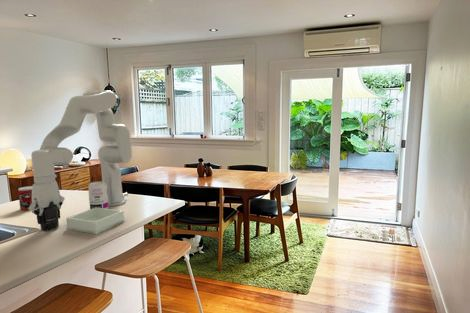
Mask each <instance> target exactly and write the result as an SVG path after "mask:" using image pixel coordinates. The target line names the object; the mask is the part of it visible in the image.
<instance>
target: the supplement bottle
mask: <svg viewBox="0 0 470 313" xmlns="http://www.w3.org/2000/svg"><path fill="white" fill-rule="evenodd" d="M39 211H40V210H39ZM42 215H44V224H43V225H42V224H39V225H40V227H39V228H40V230H41V231H45V232H46V231H52V230H56V229H58V228H59V226H60V222H59V221H60V220H59V219H58V209H57V207H56V206H55V205H54V203H53V201H51V202H49V205H48V207H46V208H44V210H43V213H42Z"/></svg>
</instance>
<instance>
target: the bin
mask: <svg viewBox="0 0 470 313" xmlns="http://www.w3.org/2000/svg"><path fill="white" fill-rule="evenodd" d="M65 221H66V228H67V229H66V230H68V231H75V232H80V233H87V234H92V235H98V234H100V233H101V234H102V232H105V231H107V230H109V229H111V228H113V227H116V226H118V225H120V224H122V223H124V222H125V215H124V210H121V209H120V210H119V209H112V208H111V209H110V208H108V209H105V208H96V207H95V208H93V209H90V208H89V209H87V210H85V211H81V212H79V213H77V214H74V215H71V216H68V217H66V220H65Z"/></svg>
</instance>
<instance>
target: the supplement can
mask: <svg viewBox="0 0 470 313" xmlns="http://www.w3.org/2000/svg"><path fill="white" fill-rule="evenodd" d="M87 188H88V200H89V202H88V203H89V210H90V209H93V208H95V207H96V208H105V209H109V206H108V196H107V185H106V183H105V182H102V180H101V181H93V182H92V181H91V182H90V183H89V185H88V187H87Z"/></svg>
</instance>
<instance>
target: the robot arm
mask: <svg viewBox="0 0 470 313" xmlns="http://www.w3.org/2000/svg"><path fill="white" fill-rule="evenodd" d="M117 100H118V99H117V95H116V93H115V92H114V91H111V90H108V89H107V90H105V89H104V90H103V89H102V90H90V91H86V92H84V93H83V94H82V95H75V96H73V97H71V98H70V100H68V104H67V106H66V108H65V111H64V113H63V116H62V117H61V120H60V122H59V123H58V125H56V126H55V127H54V128H53V129H52V130H51V131H50V132H48V133H47V135H46V136H45V137H44V138H43V141H42V143H41V145H40V147H39V149H38V150H33V151H32V152H31V164H32V166H31V167H32V172H33V182H34V183H33V184H32V185H31V186H32V204H31V205H30V207H29V208H28V209H29V210H28V211H30V212H31V213H33V215H35V216H36V222H37V224H38V225H40V224H42V225H43V224H44V215H42V213H43V210H44V208H46V207H48V205H49V202H51V201H53V203H54V205H55V206H56V207H57V209H58V220H59V219H61V209H62V205H63V204H64V202H65V199H66V198H65V197H64V196H62V195H61V193H60V188H59V185H58V182H57V180H56V178H57V177H58V175H57V174H56V173H55V166H64V165H65V166H66V165H68V164H69V163H71V162H72V161H73V159H74V154H73V152H72V150H70V149H69V148H67V147H63V146H61V147H60V146H59V145H60V144H61V143H62V142H63V141H64V140H66V139H67V138H70V137H72V136H73V135H75V134H77V133H79V132H80V131H81V128H82V125H83V122H84V121H85V118H86V116H87V115H95V117H96V123H97V130H98V132H97V133H98V137H99V139H100V141H101V142H104V143H111V144H105V145H102V146H100V147H99V149H98V151H97V156H98V159H99V164H100V168H101V182H105V183H106V185H107V196H108V207H116V206H120V205H124V204H125V203H126V202H127V201H126V200H127V199H126V198H125V197H128V196H129V194H128V192H127V191H126V192H124V193H123V186H122V170H121V167H120V165H119V164H128V163H129V162H130V161H131V159H132V156H133V150H132V139H131V133H130V130H129V128H128V127H127V126H126V124H122V123H116V121H115V115H114V112H113V110H112V108H114V107H115V106H116V104H117ZM112 143H116V144H112ZM34 208H36V209H34ZM39 210H40V211H39Z"/></svg>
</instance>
